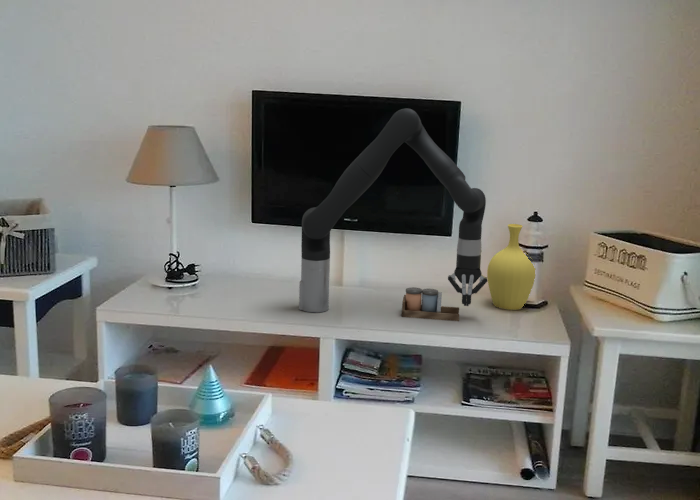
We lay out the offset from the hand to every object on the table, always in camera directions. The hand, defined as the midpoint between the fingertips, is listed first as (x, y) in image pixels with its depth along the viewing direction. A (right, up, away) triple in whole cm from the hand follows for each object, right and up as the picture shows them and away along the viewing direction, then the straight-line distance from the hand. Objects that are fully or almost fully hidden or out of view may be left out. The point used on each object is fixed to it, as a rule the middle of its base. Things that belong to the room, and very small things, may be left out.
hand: (466, 305), depth 249 cm
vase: (+17, -2, +19) cm, 26 cm away
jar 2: (-12, -3, +2) cm, 12 cm away
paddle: (-9, -3, +2) cm, 9 cm away
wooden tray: (-11, -4, +2) cm, 12 cm away
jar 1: (-17, -3, +3) cm, 17 cm away
